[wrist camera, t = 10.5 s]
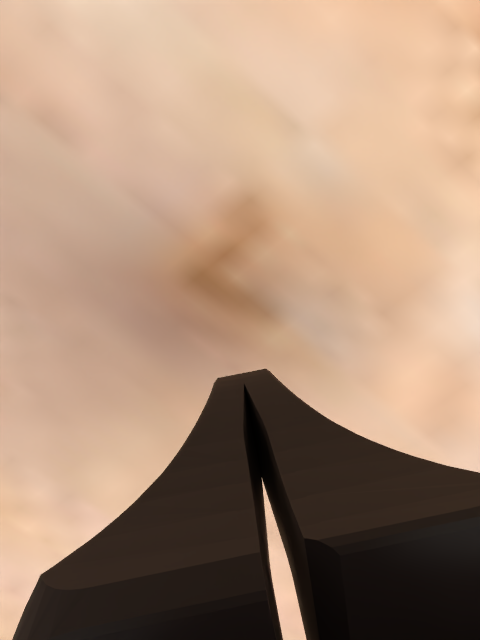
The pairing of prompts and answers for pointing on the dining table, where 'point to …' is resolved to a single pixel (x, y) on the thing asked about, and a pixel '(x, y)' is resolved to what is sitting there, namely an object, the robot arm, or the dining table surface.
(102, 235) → the dining table surface
